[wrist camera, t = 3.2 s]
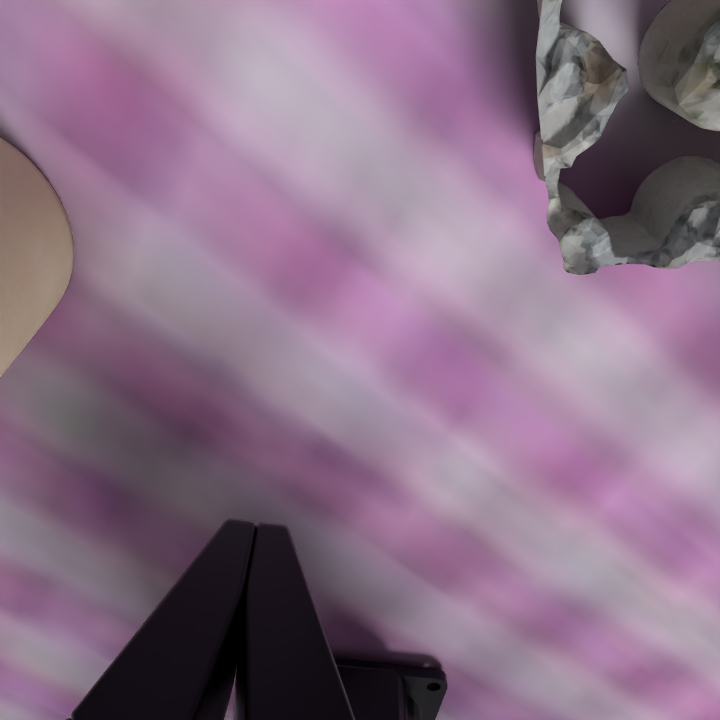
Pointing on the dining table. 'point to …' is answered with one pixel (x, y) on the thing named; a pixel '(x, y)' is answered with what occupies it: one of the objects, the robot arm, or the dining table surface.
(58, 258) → the candle
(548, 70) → the grey jagged ring-shaped piece
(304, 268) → the dining table surface
